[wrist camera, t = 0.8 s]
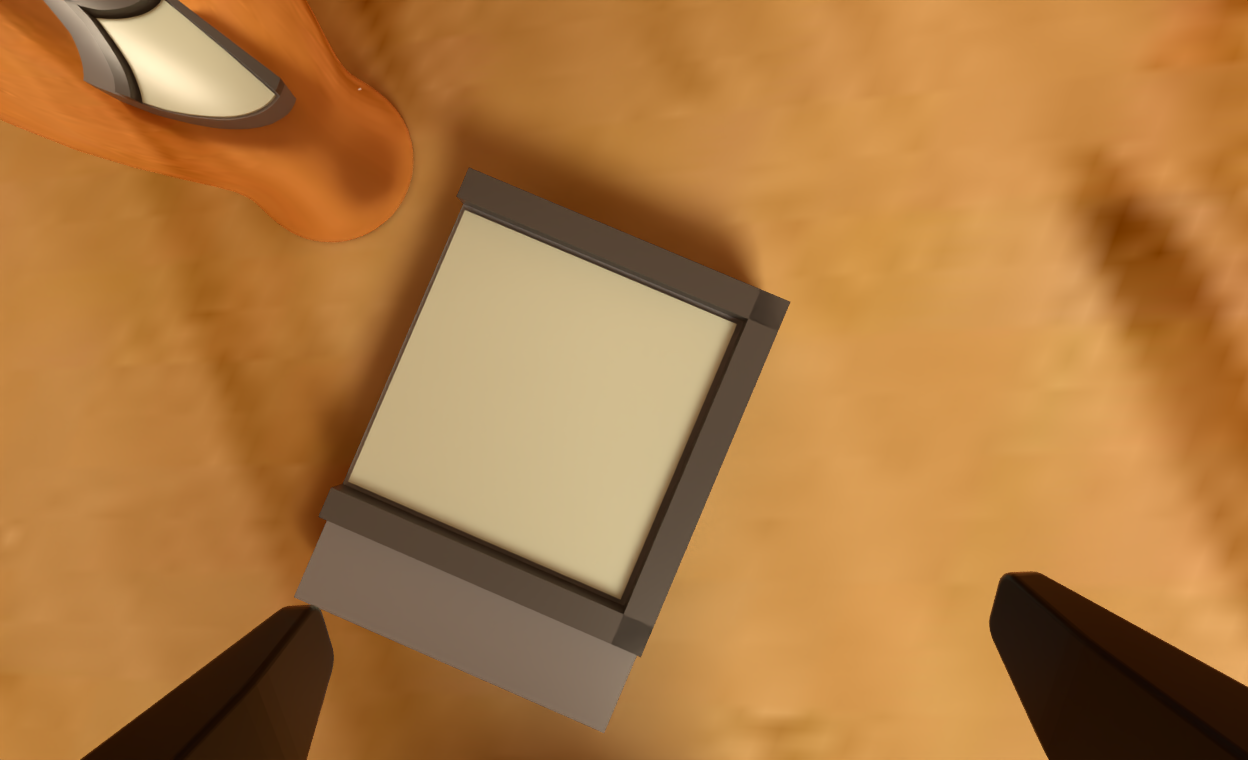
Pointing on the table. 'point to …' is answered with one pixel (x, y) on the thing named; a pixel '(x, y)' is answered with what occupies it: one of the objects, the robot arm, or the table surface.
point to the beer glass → (211, 103)
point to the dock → (541, 450)
